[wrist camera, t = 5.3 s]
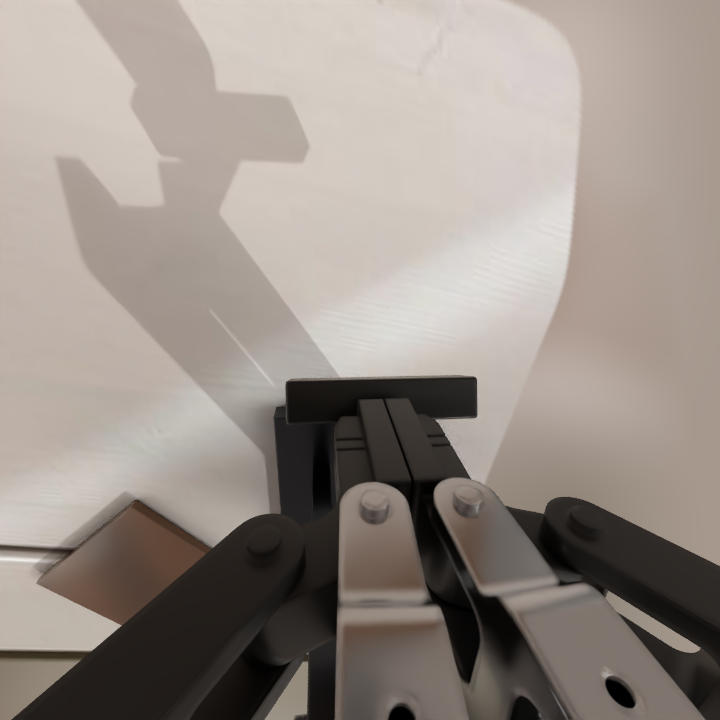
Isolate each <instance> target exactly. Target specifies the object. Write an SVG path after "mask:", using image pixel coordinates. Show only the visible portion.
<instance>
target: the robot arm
mask: <svg viewBox="0 0 720 720" xmlns="http://www.w3.org/2000/svg"><path fill="white" fill-rule="evenodd" d="M334 472H335V487H336V502H337V504H336V505H335V507H334V508H333V509H332V510H331V511H330V512H329V513H328V514H327V515H325V516H324V517H322V518H320V519H318V520H316V521H313V522H311V523H308V524H305V525H302V526H300V525H299V524H298V523H297V522H296V521H295V520H293V519H292V518H290V517H288V516H285V515H281V514H265V515H260V516H256V517H254V518H251V519H249V520H247V521H246V522H244V523H242V524H241V525H240V526H238V527H237V528H236V529H235V530H233V531H232V532H231V533H230V534H229V535H228V536H226V537H225V538H224V539H223V540H222V541H221V542H219V543H218V544H217V545H216V546H215V547H214V548H212V549H211V550H210V551H209V552H208V553H207V554H205V555H204V556H203V557H202V558H201V559H199V560H198V561H197V562H196V563H195V564H194V565H192V566H191V567H190V568H189V569H188V570H187V571H185V572H184V573H183V574H182V575H181V576H180V577H178V578H177V579H176V580H175V581H174V582H172V583H171V584H170V585H169V586H168V587H167V588H165V589H164V590H163V591H162V592H161V593H160V594H158V595H157V596H156V597H155V598H154V599H153V600H151V601H150V602H149V603H148V604H147V605H145V606H144V607H143V608H142V609H141V610H140V611H138V612H137V613H136V614H135V615H134V616H133V617H131V618H130V619H129V620H128V621H127V622H126V623H124V624H123V625H122V626H121V627H120V628H119V629H117V630H116V631H115V632H114V633H113V634H111V635H110V636H109V637H108V638H107V639H106V640H104V641H103V642H102V643H101V644H100V645H99V646H97V647H96V648H95V649H94V650H93V651H92V652H90V653H89V654H88V655H87V656H86V657H84V658H83V659H82V660H81V661H80V662H79V663H77V664H76V665H75V666H74V667H73V668H72V669H70V670H69V671H68V672H67V673H66V674H65V675H63V676H62V677H61V678H60V679H59V680H58V681H56V682H55V683H54V684H53V685H52V686H51V687H49V688H48V689H47V690H46V691H45V692H43V693H42V694H41V695H40V696H39V697H38V698H36V699H35V700H34V701H33V702H32V703H31V704H29V705H28V706H27V707H26V708H25V709H23V710H22V711H21V712H20V713H19V714H18V715H17V716H15V717H14V718H13V719H12V720H264V719H265V718H266V717H267V715H268V714H269V712H270V711H271V709H272V707H273V706H274V704H275V703H276V701H277V700H278V698H279V697H280V695H281V694H282V692H283V691H284V689H285V688H286V686H287V685H288V683H289V682H290V680H291V679H292V677H293V676H294V674H295V673H296V671H297V670H298V668H299V667H300V665H301V663H302V662H303V660H304V658H305V655H306V653H308V652H310V651H312V650H314V649H316V648H317V647H319V646H321V645H323V644H325V643H327V642H329V641H331V640H333V639H335V638H337V644H336V688H335V720H720V566H718V565H716V564H714V563H712V562H710V561H708V560H706V559H704V558H702V557H700V556H698V555H696V554H694V553H692V552H690V551H688V550H686V549H684V548H682V547H680V546H678V545H676V544H674V543H671V542H669V541H667V540H665V539H663V538H661V537H659V536H657V535H655V534H653V533H651V532H649V531H647V530H645V529H643V528H641V527H639V526H637V525H635V524H633V523H631V522H629V521H627V520H625V519H623V518H621V517H619V516H617V515H615V514H613V513H610V512H608V511H607V510H604V509H602V508H600V507H598V506H596V505H594V504H592V503H590V502H587V501H584V500H581V499H577V498H571V497H558V498H555V499H553V500H551V501H550V502H549V503H548V504H547V506H546V509H545V512H544V514H541V513H536V512H531V511H526V510H520V509H516V508H511V507H508V506H505V505H504V504H503V503H502V501H501V500H500V499H499V497H498V496H497V495H496V494H495V493H494V492H493V491H492V490H491V489H490V488H488V487H487V486H485V485H484V484H482V483H480V482H477V481H475V480H471V478H470V476H469V475H468V473H467V471H466V470H465V468H464V466H463V464H462V463H461V461H460V459H459V458H458V456H457V454H456V452H455V451H454V449H453V447H452V446H451V445H450V442H449V440H448V439H447V437H445V434H444V432H443V430H442V428H441V427H440V425H439V423H438V422H436V421H435V420H434V419H432V418H431V417H430V416H428V415H427V414H416V413H415V411H414V409H413V407H412V405H411V403H410V401H409V399H408V398H390V399H358V400H357V414H356V416H343V417H340V419H339V421H338V422H337V424H336V425H335V446H334ZM608 591H610V592H612V593H614V594H615V595H617V596H618V597H620V598H621V599H623V600H625V601H626V602H628V603H630V604H631V605H633V606H634V607H636V608H638V609H639V610H641V611H643V612H644V613H646V614H647V615H649V616H651V617H652V618H654V619H655V620H657V621H659V622H660V623H662V624H664V625H665V626H667V627H668V628H670V629H672V630H673V631H675V632H676V633H678V634H680V635H681V636H683V637H685V638H686V639H688V640H690V641H691V642H693V643H694V644H696V645H697V646H699V647H701V649H700V650H699V651H698V652H695V653H685V652H682V651H679V650H676V649H674V648H672V647H670V646H669V645H667V644H666V643H664V642H663V641H661V640H659V639H658V638H656V637H655V636H653V635H652V634H650V633H649V632H647V631H646V630H644V629H642V628H641V627H639V626H638V625H636V624H635V623H633V622H632V621H630V620H628V619H627V618H625V617H624V616H622V615H621V614H619V613H618V612H616V611H615V609H614V608H613V607H612V606H611V604H610V603H609V602H608V601H607V600H606V599H605V598H606V595H607V593H608Z"/></svg>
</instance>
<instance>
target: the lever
mask: <svg viewBox="0 0 720 720" xmlns="http://www.w3.org/2000/svg"><path fill="white" fill-rule="evenodd" d="M390 398H408V399H409V401H410V403H411V405H412V407H413V409H414V411H415V413H416V414H427V415H428V416H430V417H431V418H432V419H434V420H435V419H463V418H476V417H477V379H476V377H472V376H463V375H442V376H397V377H351V378H305V379H290V380H289V381H287V382H286V422H287V424H289V425H297V424H324V423H337V422H338V421H339V419H340V417H343V416H356V414H357V400H358V399H390Z"/></svg>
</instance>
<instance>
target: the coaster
mask: <svg viewBox="0 0 720 720" xmlns="http://www.w3.org/2000/svg"><path fill="white" fill-rule="evenodd" d="M210 550H211V548H209V547H208V546H206V545H205V544H203V543H202V542H200V541H199V540H197V539H195V538H194V537H192V536H191V535H189V534H188V533H186V532H185V531H183V530H182V529H180V528H179V527H177V526H175V525H174V524H172V523H171V522H169V521H168V520H166V519H165V518H163V517H162V516H160V515H159V514H157V513H155V512H154V511H152V510H151V509H149V508H148V507H146V506H145V505H143V504H142V503H140V502H139V501H137V500H135V501H134V502H133V503H131V504H130V505H129V506H128V507H126V508H125V509H124V510H123V511H121V512H120V513H119V514H118V515H116V516H115V517H114V518H113V519H111V520H110V521H109V522H108V523H106V524H105V525H104V526H103V527H102V528H100V529H99V530H98V531H97V532H95V533H94V534H93V535H92V536H90V537H89V538H88V539H87V540H85V541H84V542H83V543H82V544H80V545H79V546H78V547H77V548H75V549H74V550H73V551H72V552H70V553H69V554H68V555H67V556H65V557H64V558H63V559H62V560H60V561H59V562H58V563H57V564H55V565H54V566H53V567H52V568H50V569H49V570H48V571H47V572H45V573H44V574H43V575H42V576H41V577H40V578H39V580H38V581H37V584H38V585H40V586H43V587H45V588H47V589H49V590H51V591H53V592H55V593H57V594H59V595H61V596H63V597H65V598H67V599H69V600H71V601H73V602H75V603H77V604H79V605H81V606H83V607H85V608H87V609H90V610H92V611H94V612H96V613H98V614H100V615H102V616H104V617H106V618H108V619H110V620H112V621H114V622H116V623H118V624H120V625H123V624H124V623H126V622H127V621H128V620H129V619H130V618H131V617H133V616H134V615H135V614H136V613H137V612H138V611H140V610H141V609H142V608H143V607H144V606H145V605H147V604H148V603H149V602H150V601H151V600H153V599H154V598H155V597H156V596H157V595H158V594H160V593H161V592H162V591H163V590H164V589H165V588H167V587H168V586H169V585H170V584H171V583H172V582H174V581H175V580H176V579H177V578H178V577H180V576H181V575H182V574H183V573H184V572H185V571H187V570H188V569H189V568H190V567H191V566H192V565H194V564H195V563H196V562H197V561H198V560H199V559H201V558H202V557H203V556H204V555H205V554H207V553H208V552H209V551H210Z"/></svg>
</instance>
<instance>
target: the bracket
mask: <svg viewBox="0 0 720 720" xmlns="http://www.w3.org/2000/svg"><path fill="white" fill-rule="evenodd" d="M336 424H337V423H324V424H297V425H289V424H287V422H286V407H276V410H275V415H274V428H275V441H276V454H277V467H278V480H279V493H280V506H281V515H285V516H288V517H290V518H292V519H293V520H295V521H296V522H297V523H298V524H299V525H300V526H302V525H305V524H308V523H311V522H313V521H316V520H318V519H320V518H322V517H324V516H325V515H327V514H328V513H329V512H330V511H331V510H332V509H333V508H334V507H335V505H336V504H337V502H336V487H335V472H334V446H335V425H336ZM336 644H337V638H335V639H333V640H331V641H329V642H327V643H325V644H323V645H321V646H319V647H317V648H316V649H314V650H312V651H310V652H309V656H308V703H307V714H302V715H296V716H295V717H294V720H335V688H336Z"/></svg>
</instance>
